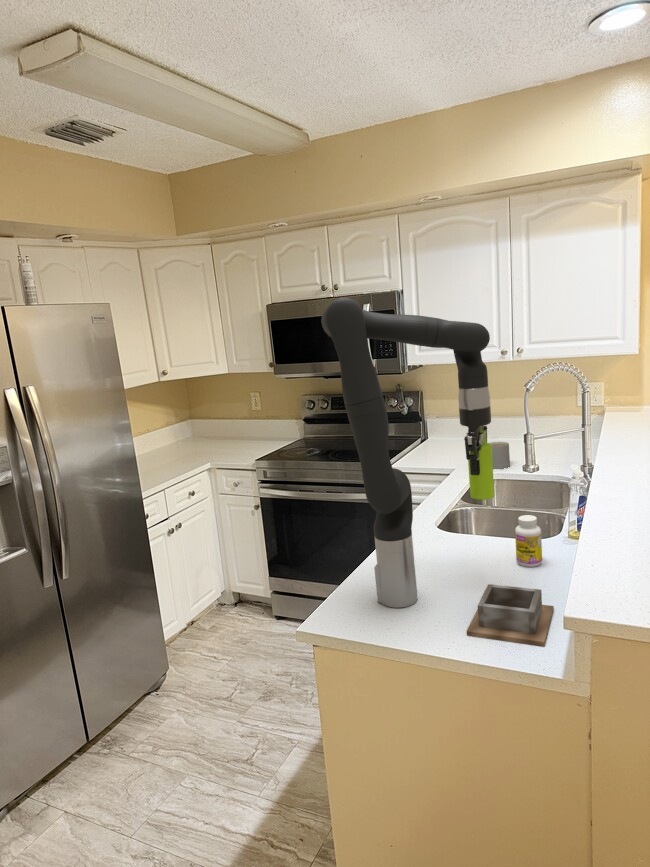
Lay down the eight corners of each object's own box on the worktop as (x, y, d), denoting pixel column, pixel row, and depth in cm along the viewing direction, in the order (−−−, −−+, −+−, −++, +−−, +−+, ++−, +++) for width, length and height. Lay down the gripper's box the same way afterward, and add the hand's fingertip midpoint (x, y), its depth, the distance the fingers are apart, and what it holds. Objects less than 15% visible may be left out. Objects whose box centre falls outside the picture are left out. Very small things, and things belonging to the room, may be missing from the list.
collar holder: (466, 635, 131) (465, 609, 130) (483, 601, 145) (481, 578, 144) (544, 646, 124) (543, 619, 122) (553, 610, 137) (552, 585, 136)
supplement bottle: (512, 565, 163) (510, 520, 160) (521, 556, 168) (519, 512, 166) (537, 569, 159) (535, 523, 156) (545, 560, 164) (543, 515, 161)
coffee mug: (510, 469, 255) (509, 446, 254) (486, 470, 258) (485, 447, 256) (508, 461, 268) (507, 439, 266) (485, 462, 271) (484, 440, 269)
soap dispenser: (473, 491, 156) (468, 415, 153) (498, 494, 152) (493, 416, 148) (462, 497, 152) (457, 420, 148) (488, 500, 148) (483, 420, 144)
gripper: (466, 400, 156) (470, 463, 159) (451, 410, 143) (456, 478, 146) (495, 399, 152) (499, 464, 155) (483, 410, 140) (487, 479, 143)
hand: (478, 471), depth 151 cm, fingers closed on soap dispenser, 6 cm apart
